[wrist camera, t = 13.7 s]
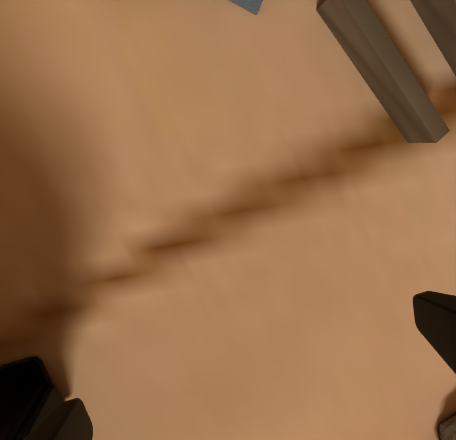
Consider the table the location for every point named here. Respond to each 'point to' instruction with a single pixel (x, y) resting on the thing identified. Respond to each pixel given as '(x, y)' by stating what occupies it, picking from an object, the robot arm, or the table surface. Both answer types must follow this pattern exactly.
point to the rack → (394, 60)
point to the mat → (249, 5)
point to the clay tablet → (448, 429)
